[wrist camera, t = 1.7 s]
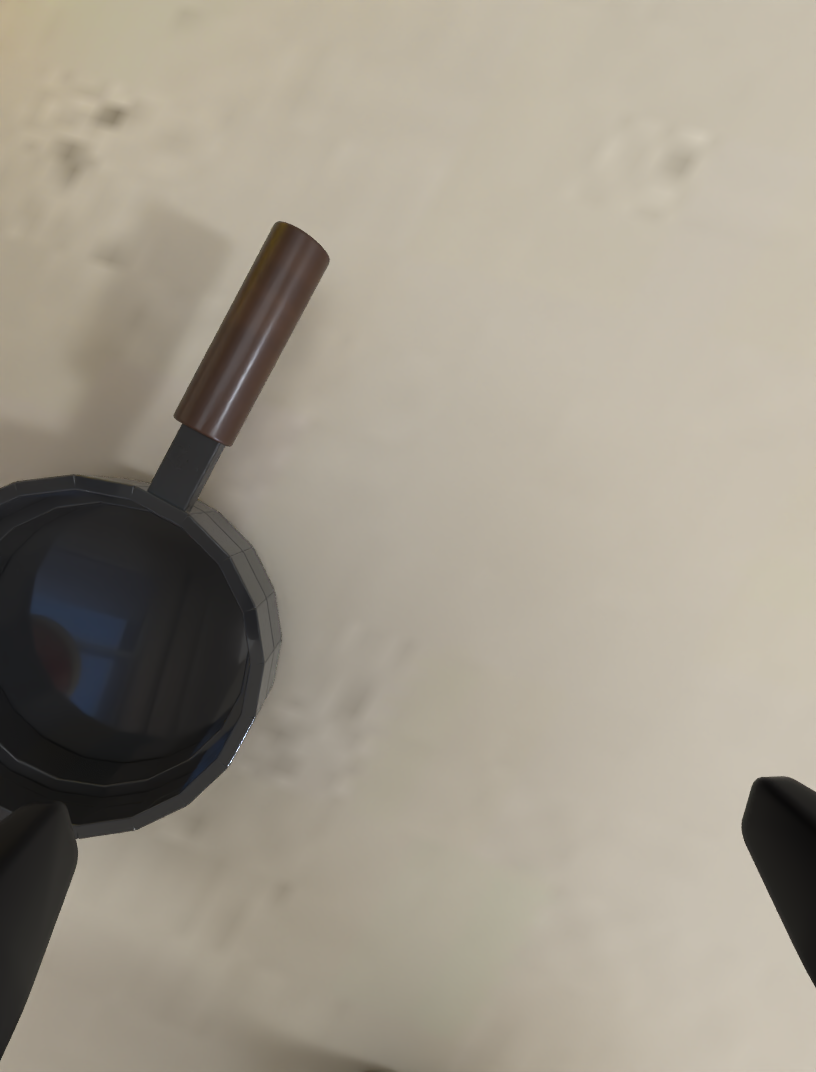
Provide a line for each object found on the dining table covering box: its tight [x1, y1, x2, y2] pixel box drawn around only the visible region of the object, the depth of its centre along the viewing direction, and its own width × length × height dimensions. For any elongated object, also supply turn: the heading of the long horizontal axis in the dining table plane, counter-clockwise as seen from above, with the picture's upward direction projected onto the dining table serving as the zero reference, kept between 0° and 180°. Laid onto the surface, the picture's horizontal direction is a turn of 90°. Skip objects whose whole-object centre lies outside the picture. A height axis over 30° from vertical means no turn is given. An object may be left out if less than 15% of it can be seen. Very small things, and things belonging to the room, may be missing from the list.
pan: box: [0, 474, 282, 839], centre depth 20 cm, size 12×12×4 cm
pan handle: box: [147, 221, 330, 510], centre depth 18 cm, size 10×2×2 cm, turn 151°
